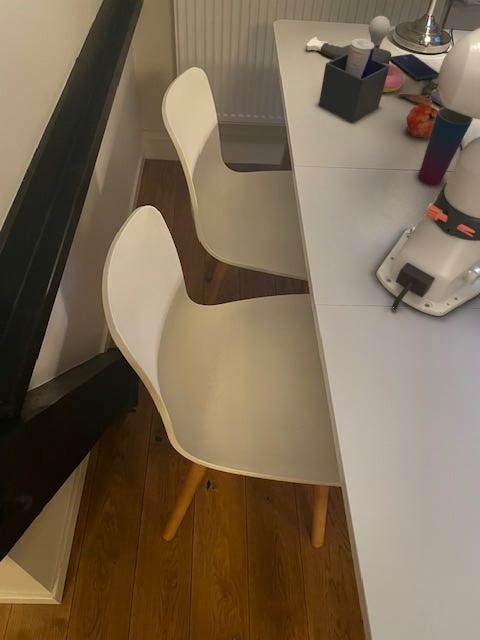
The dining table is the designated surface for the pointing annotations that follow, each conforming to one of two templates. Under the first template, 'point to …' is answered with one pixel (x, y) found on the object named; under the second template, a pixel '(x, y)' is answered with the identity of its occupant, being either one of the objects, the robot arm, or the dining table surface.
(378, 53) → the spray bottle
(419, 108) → the orange-red stemmed round figurine
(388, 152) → the dining table surface
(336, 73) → the trash bin
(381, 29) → the light bulb
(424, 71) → the smartphone
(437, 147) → the cup
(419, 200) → the dining table surface
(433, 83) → the knife
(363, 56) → the beverage can
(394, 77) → the doughnut
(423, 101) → the stone
